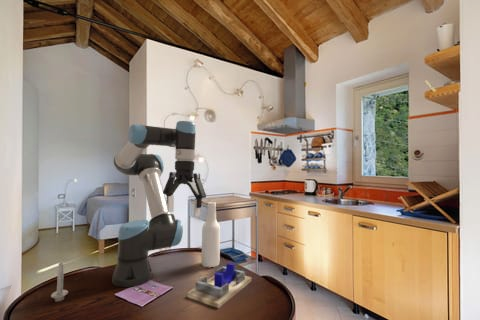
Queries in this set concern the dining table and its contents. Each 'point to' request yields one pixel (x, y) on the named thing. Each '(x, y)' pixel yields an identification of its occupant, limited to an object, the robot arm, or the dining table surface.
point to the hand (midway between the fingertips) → (183, 214)
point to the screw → (60, 285)
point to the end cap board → (218, 289)
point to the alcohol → (211, 239)
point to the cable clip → (225, 276)
